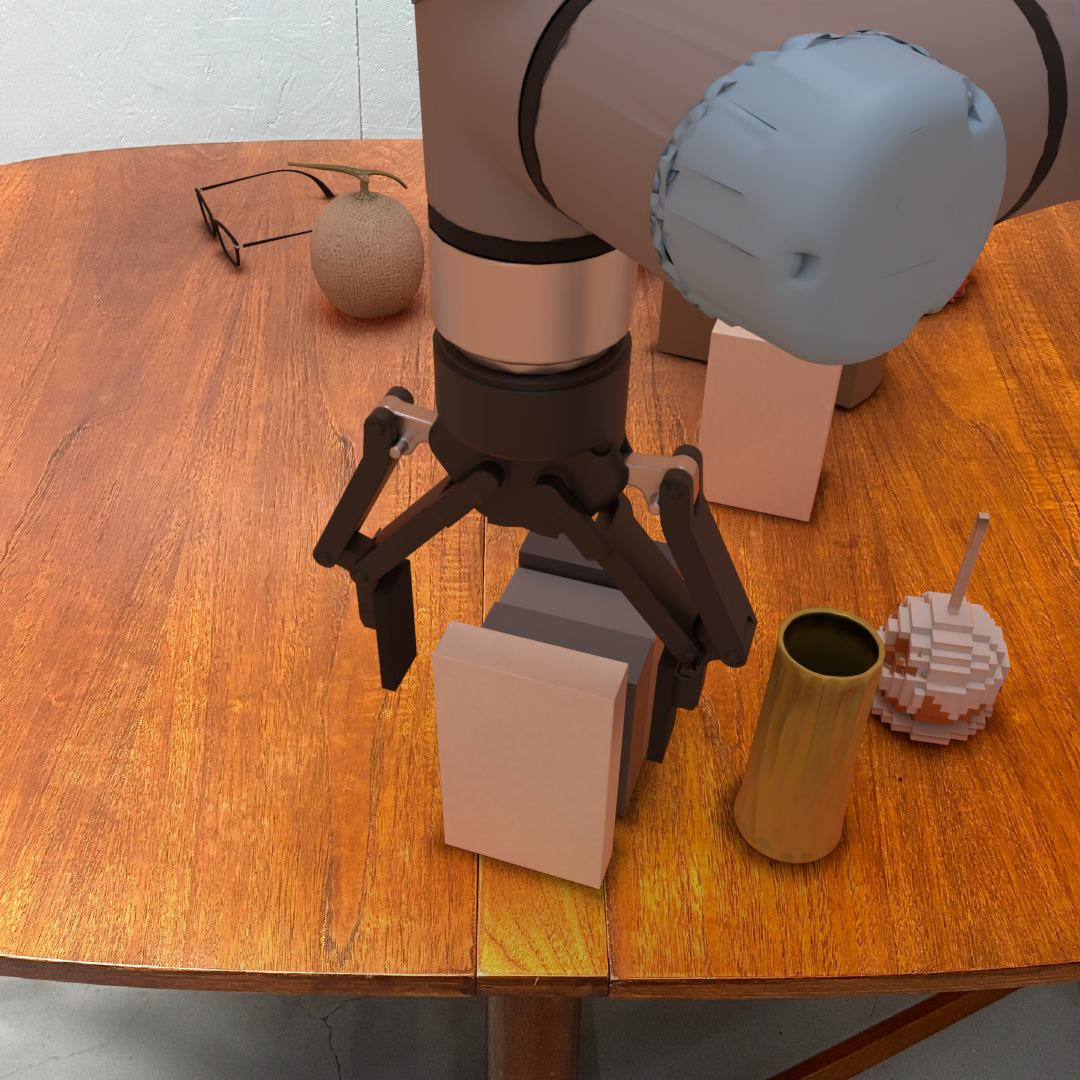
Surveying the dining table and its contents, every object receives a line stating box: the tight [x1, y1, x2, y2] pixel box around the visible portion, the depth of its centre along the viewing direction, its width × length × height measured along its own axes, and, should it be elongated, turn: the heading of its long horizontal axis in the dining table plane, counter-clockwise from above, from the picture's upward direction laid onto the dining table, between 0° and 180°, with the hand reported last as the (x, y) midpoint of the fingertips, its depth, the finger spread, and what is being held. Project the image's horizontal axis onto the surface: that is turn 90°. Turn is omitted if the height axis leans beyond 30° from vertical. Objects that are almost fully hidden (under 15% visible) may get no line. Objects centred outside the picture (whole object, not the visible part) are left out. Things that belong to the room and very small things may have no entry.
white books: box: [697, 319, 843, 522], centre depth 85 cm, size 6×9×14 cm
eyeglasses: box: [194, 169, 336, 268], centre depth 122 cm, size 16×16×4 cm
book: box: [657, 281, 889, 410], centre depth 96 cm, size 19×8×25 cm, turn 57°
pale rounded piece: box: [871, 511, 1011, 746], centre depth 68 cm, size 8×8×15 cm
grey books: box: [480, 530, 683, 817], centre depth 67 cm, size 11×9×12 cm
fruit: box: [287, 161, 425, 320], centre depth 106 cm, size 10×12×15 cm
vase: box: [733, 606, 885, 864], centre depth 61 cm, size 6×6×14 cm
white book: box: [431, 619, 628, 890], centre depth 59 cm, size 2×9×15 cm, turn 72°
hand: (526, 705), depth 57 cm, fingers open, 13 cm apart
